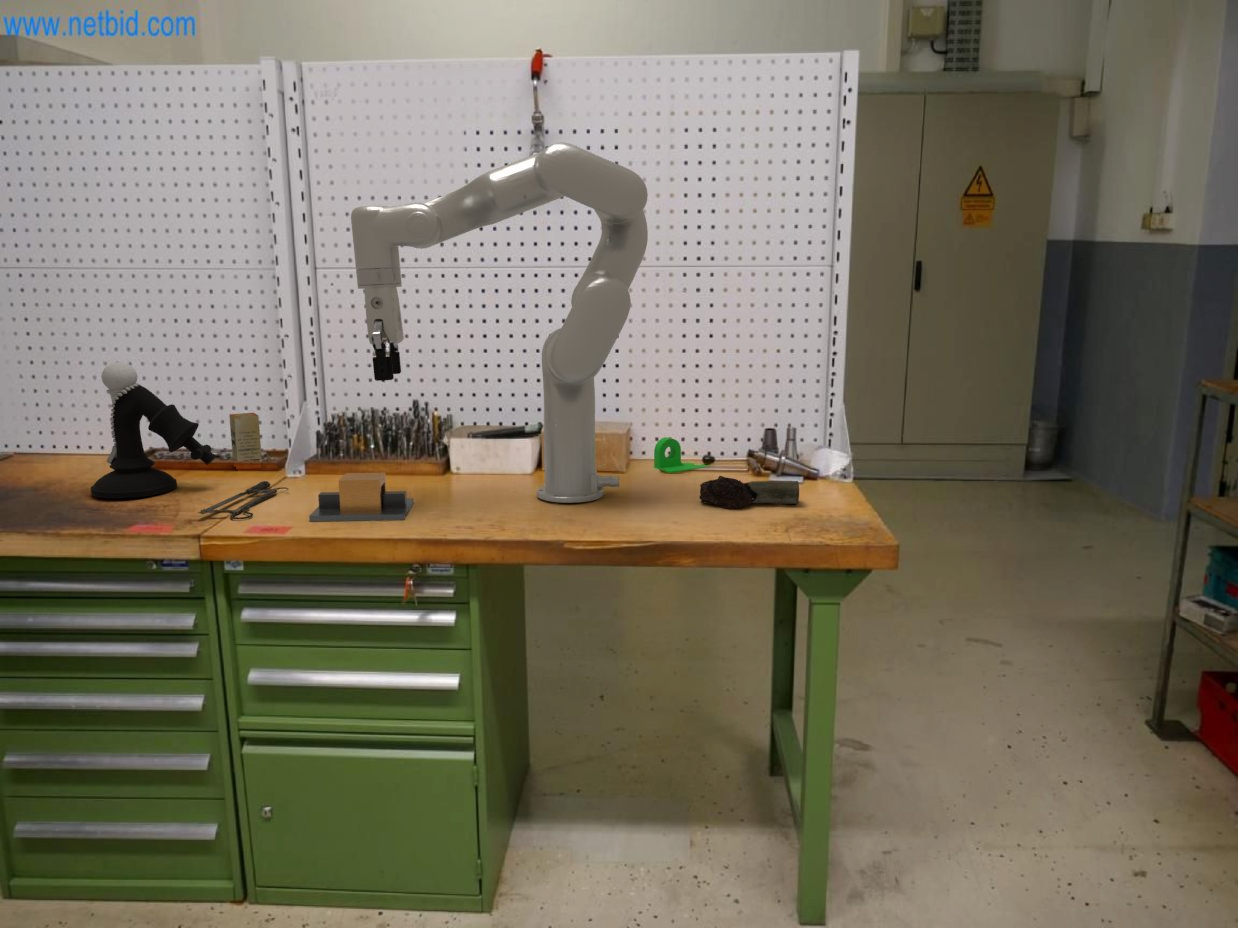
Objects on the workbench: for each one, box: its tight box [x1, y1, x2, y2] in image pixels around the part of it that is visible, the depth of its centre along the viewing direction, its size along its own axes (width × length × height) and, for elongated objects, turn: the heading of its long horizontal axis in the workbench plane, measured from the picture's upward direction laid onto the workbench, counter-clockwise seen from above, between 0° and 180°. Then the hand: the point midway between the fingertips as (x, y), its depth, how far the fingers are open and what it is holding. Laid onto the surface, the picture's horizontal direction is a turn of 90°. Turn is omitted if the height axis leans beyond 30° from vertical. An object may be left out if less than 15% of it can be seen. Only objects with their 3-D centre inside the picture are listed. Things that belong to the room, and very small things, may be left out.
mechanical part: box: [653, 437, 711, 474], centre depth 201 cm, size 12×6×8 cm, turn 122°
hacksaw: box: [197, 480, 289, 520], centre depth 175 cm, size 24×10×1 cm, turn 171°
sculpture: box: [90, 361, 217, 499], centre depth 184 cm, size 15×24×25 cm, turn 92°
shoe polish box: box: [228, 412, 263, 461], centre depth 204 cm, size 5×5×12 cm
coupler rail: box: [308, 490, 415, 522], centre depth 169 cm, size 16×12×4 cm
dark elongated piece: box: [698, 475, 800, 510], centre depth 172 cm, size 18×7×6 cm, turn 87°
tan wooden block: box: [338, 472, 387, 511], centre depth 169 cm, size 7×6×6 cm
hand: (388, 377), depth 169 cm, fingers open, 9 cm apart
